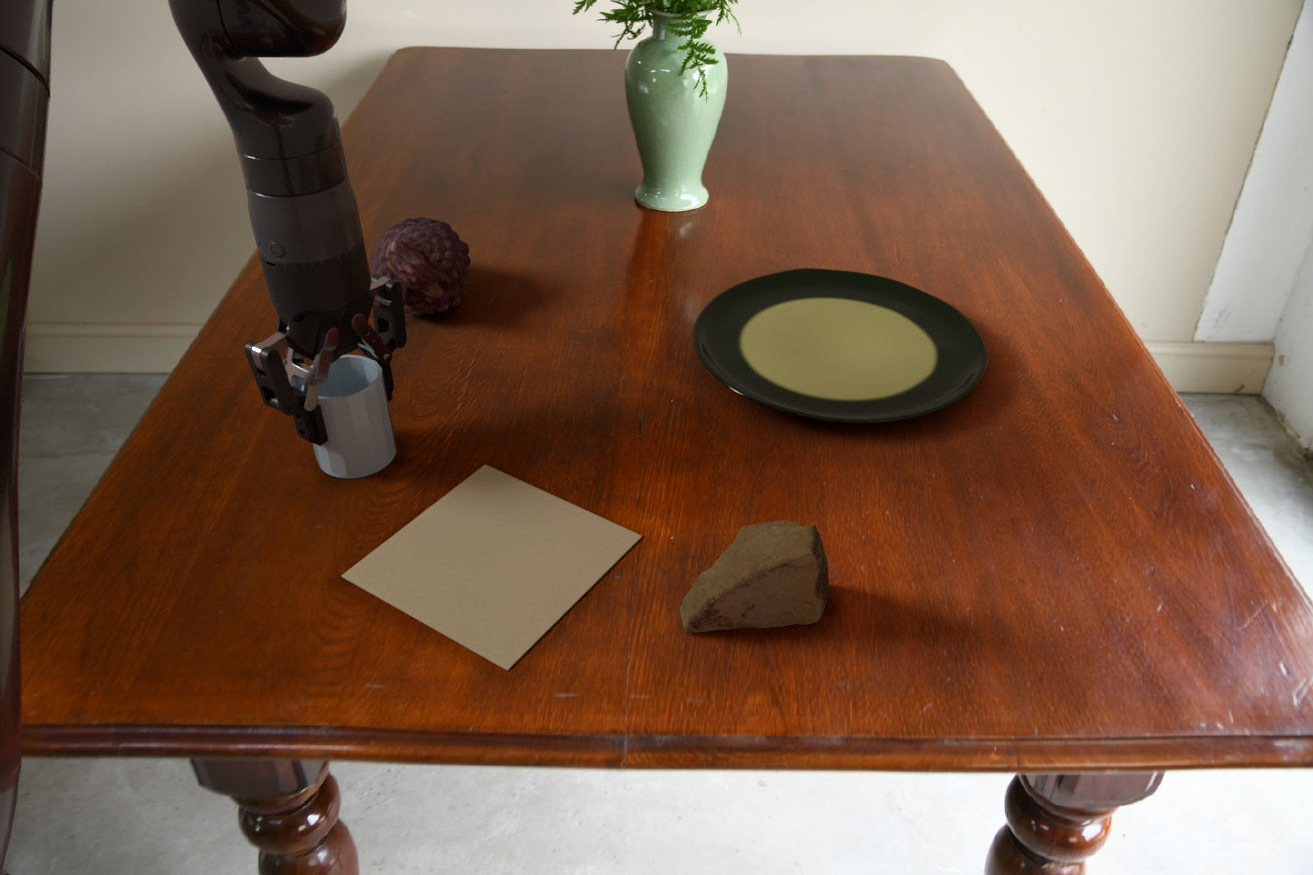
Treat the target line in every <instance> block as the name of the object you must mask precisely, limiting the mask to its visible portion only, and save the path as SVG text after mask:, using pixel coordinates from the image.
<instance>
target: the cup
mask: <svg viewBox="0 0 1313 875" xmlns="http://www.w3.org/2000/svg"><path fill="white" fill-rule="evenodd" d="M308 366H309V365H308ZM309 367H312V368H313V364H311V365H310V366H309ZM304 386H305V380H303V384H302V389H301V391H303V390H304ZM317 405H319V406H320V407H321V411H322V415H323V420H324V424H325V428H326V432H327V437H328V442H326V443H325V444H323V445H321V446H318V445H316V444H314V443H312V446H313V450H314V455H315V459H316V461H317V463H318V466H319V468H320V469H321V470H322V471H323V472H324V473H325V474H327V475H329V476H331V477H335V478H339V479H361V478H365V477H368V476H371V475H375V474H376V473H378V472H381V470H382V471H383V469H385V468H386V467H387V466H389V465H390V464H391V463H392V461H394V458H395V457H396V454H397V445H396V436H395V432H394V425H393V421H392V416H391V409H390V405H389V402H388V399H387V393H386V388H385V382H384V377H383V372H382V368H381V367H380V365H379V364H378V363H377V362H376V361H375V360H372V359H370V358H368V357H366V356H364V355H357V354H343V355H342V356H341V357H340V358H339V359H338V360H337V361H335V362H333V363H332V364H330V369H329V373H328V378H327V381H326V382H324V383H322V384H321V388H320V392H319V397H318V402H317Z"/></svg>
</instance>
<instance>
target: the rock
mask: <svg viewBox="0 0 1313 875" xmlns="http://www.w3.org/2000/svg"><path fill="white" fill-rule="evenodd" d="M828 560H829V559H828V558H827V555H826V550H825V547H824V541H823V538H822V537H821V533H820V532H819V531H818V528H817V525H815V524H814V525H807V526H806V525H803V524H802V523H800V522H798V521H791V520H785V519H783V520H782V519H781V520H776V521H770V522H761V523H758V524H752V525H750V524H746V525H743V526H742V527H741V528H740V529H739V530H738V532H737V535H736V537H735V538H734V540H733V541H732V543H731V544H730V545H729V547H727V549H725V550H724V551H723V552H722V553H721V554H720V556H719V558H717V559H716V560H715V561H714V563H713V564H712V566H711V567H710V568H709V569H707V570H703V571H702V572H701V573H700V574H698V576H697V577H696V579H695V580H694V582H693V584H692V587H691V588H690V590H689V591H688V593H687V594H686V595H685V596H684V597H683V598H682V602H681V605H680V606H679V612H680V619H681V626H682V628H683V631H684V632H685V633H693V634H694V633H705V632H714V631H728V630H737V629H749V628H756V629H767V628H781V627H786V626H793V625H801V626H803V625H804V626H805V625H806V626H807V625H812V624H815V623H817V622H819V621H820V619H821V618H822V616H823V613H824V611H825V608H826V605H827V603H828V597H829V586H830V580H829V579H830V578H829V576H830V575H829V562H828Z"/></svg>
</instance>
